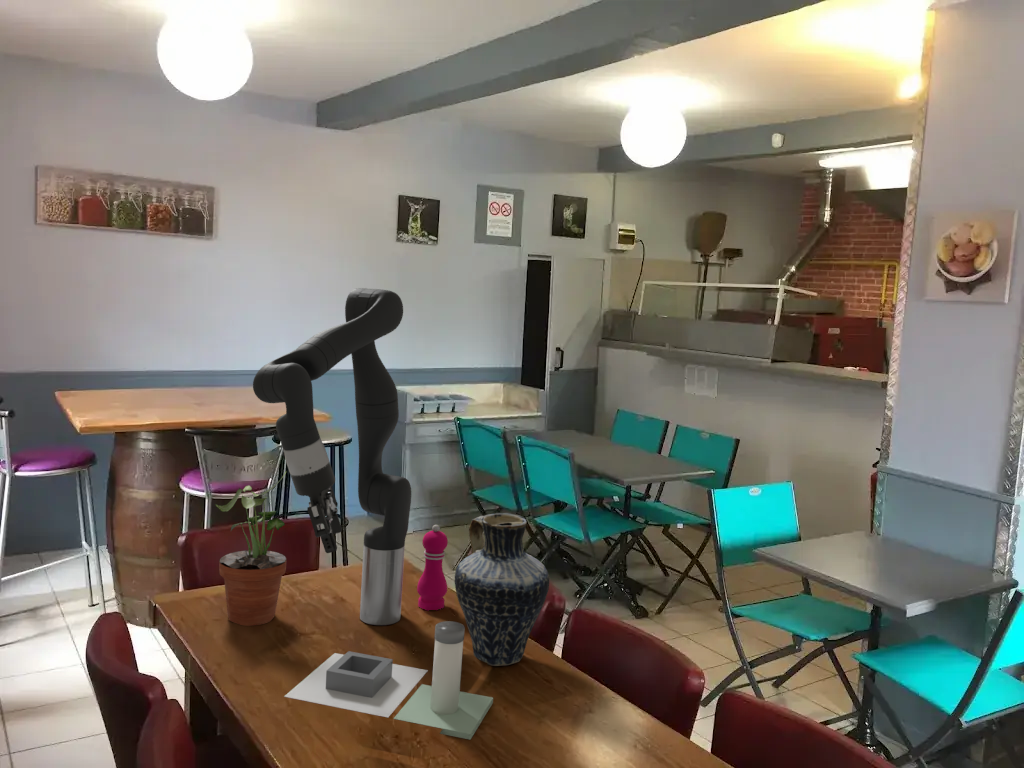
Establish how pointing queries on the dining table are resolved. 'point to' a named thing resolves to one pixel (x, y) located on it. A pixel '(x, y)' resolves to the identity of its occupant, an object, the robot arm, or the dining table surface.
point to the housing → (358, 683)
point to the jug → (500, 588)
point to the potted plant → (253, 569)
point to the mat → (451, 724)
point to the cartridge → (447, 667)
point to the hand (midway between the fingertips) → (334, 541)
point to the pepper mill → (433, 571)
